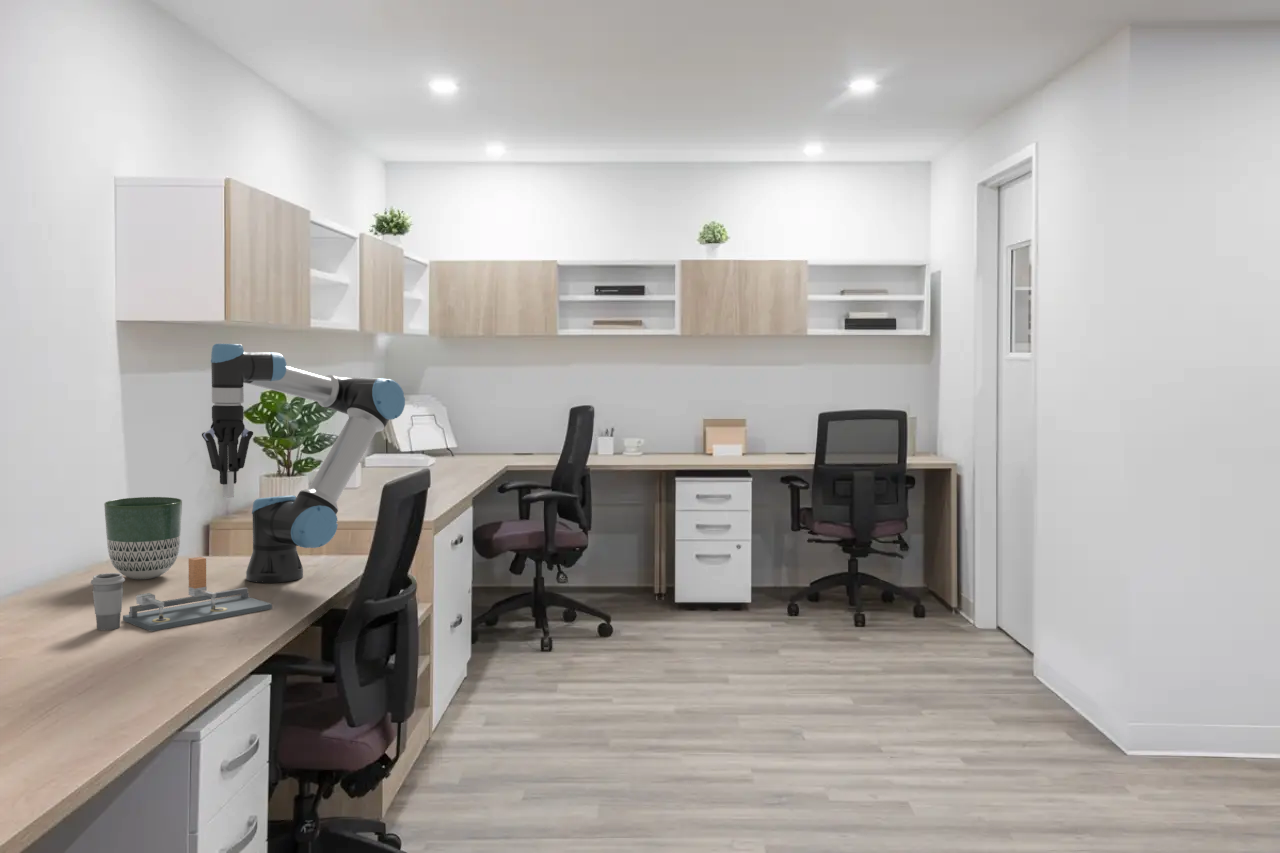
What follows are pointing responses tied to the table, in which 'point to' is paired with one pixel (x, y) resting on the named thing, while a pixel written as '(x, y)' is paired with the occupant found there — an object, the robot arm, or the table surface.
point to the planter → (143, 535)
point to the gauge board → (197, 613)
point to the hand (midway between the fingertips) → (228, 496)
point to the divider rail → (177, 601)
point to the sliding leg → (199, 579)
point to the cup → (108, 600)
